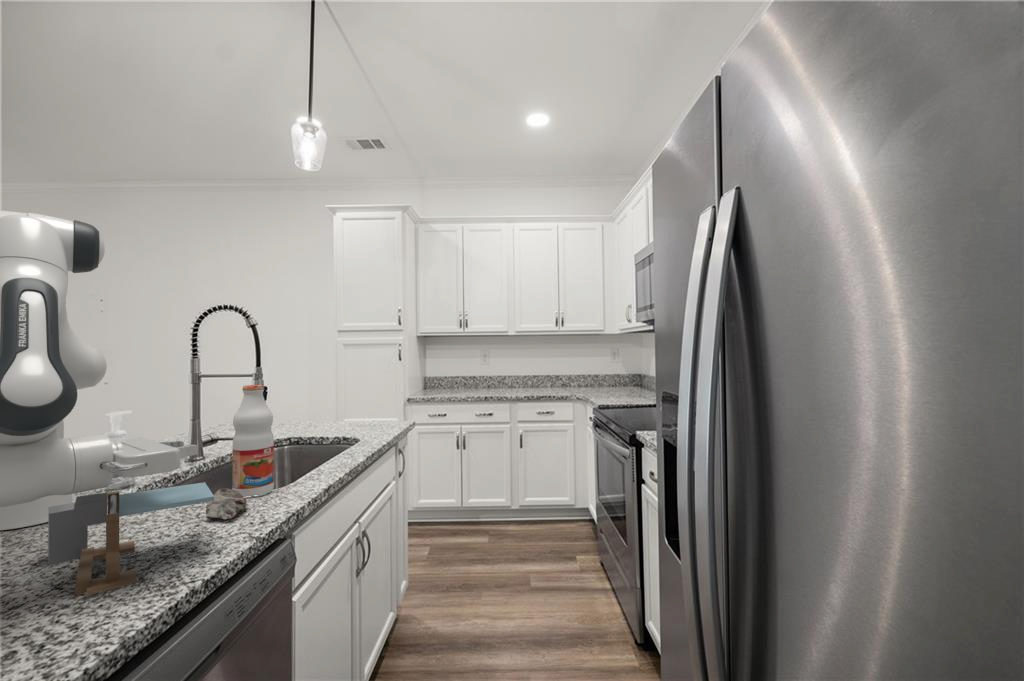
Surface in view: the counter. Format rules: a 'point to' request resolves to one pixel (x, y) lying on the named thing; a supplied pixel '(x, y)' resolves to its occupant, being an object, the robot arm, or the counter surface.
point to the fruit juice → (253, 445)
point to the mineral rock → (225, 504)
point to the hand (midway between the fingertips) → (189, 447)
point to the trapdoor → (138, 502)
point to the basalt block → (64, 535)
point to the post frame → (112, 559)
